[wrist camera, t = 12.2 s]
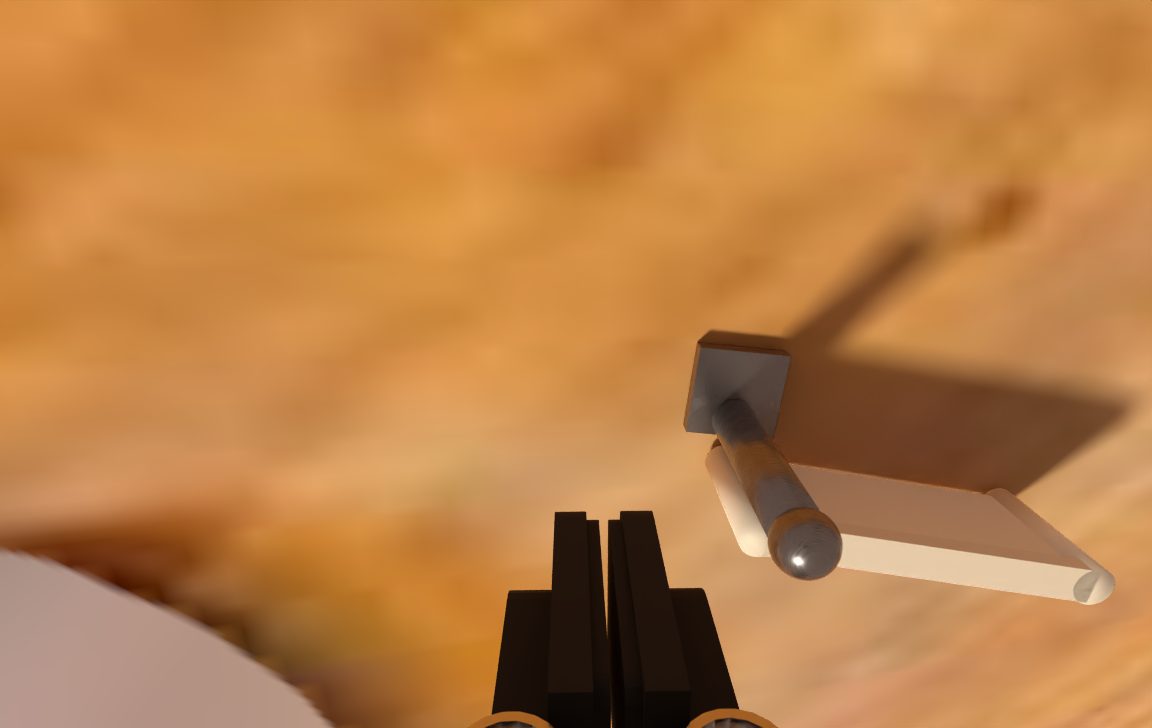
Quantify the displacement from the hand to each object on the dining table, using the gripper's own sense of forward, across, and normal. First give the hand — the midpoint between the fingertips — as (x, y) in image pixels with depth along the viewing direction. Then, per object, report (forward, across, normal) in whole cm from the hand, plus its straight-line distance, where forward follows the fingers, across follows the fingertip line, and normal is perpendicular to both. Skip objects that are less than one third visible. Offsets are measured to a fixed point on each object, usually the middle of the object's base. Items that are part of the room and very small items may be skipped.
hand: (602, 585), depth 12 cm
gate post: (+26, -9, +7) cm, 29 cm away
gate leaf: (+26, -16, +12) cm, 33 cm away
